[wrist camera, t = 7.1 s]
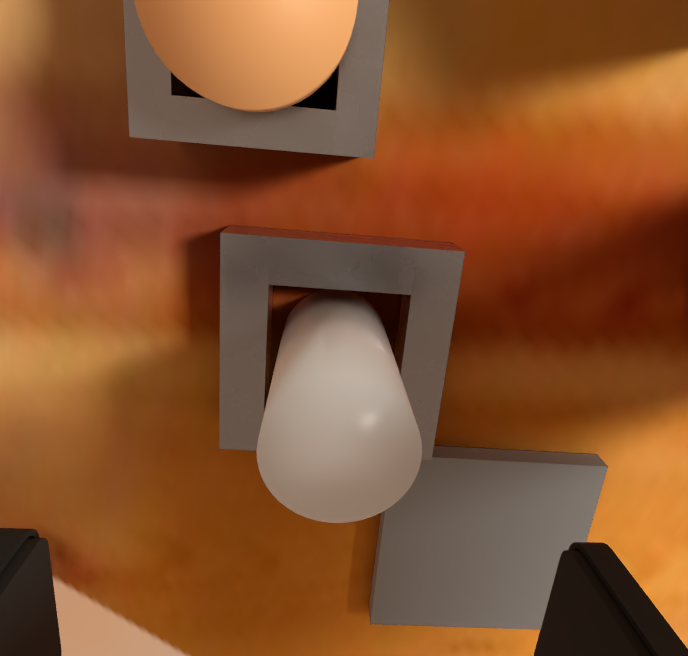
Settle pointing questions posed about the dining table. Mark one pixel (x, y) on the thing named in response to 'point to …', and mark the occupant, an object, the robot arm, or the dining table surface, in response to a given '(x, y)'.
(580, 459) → the mat
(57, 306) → the dining table surface
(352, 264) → the collar
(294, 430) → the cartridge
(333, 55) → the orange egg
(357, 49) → the housing
